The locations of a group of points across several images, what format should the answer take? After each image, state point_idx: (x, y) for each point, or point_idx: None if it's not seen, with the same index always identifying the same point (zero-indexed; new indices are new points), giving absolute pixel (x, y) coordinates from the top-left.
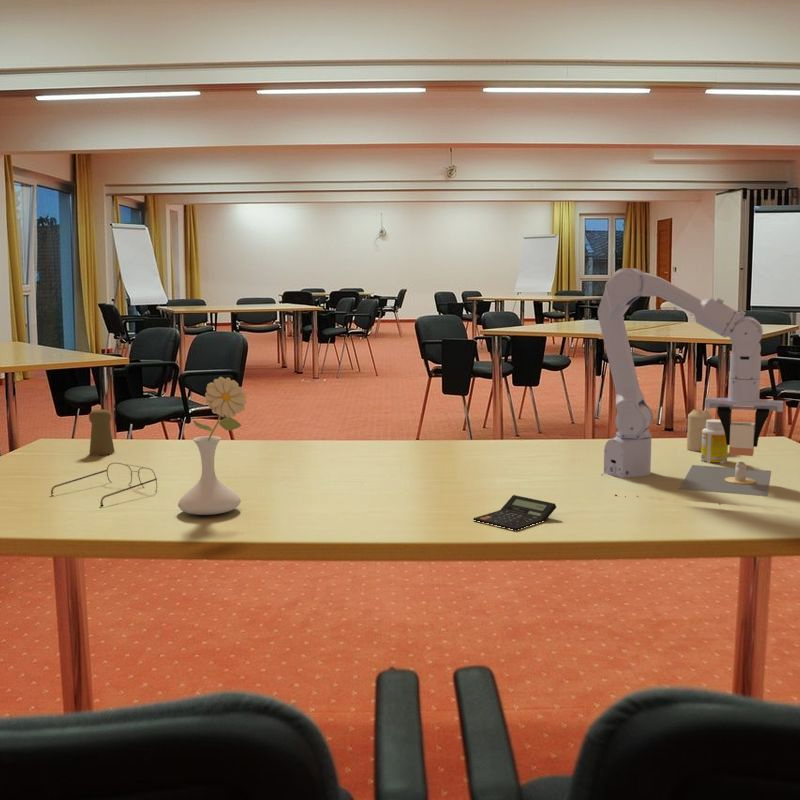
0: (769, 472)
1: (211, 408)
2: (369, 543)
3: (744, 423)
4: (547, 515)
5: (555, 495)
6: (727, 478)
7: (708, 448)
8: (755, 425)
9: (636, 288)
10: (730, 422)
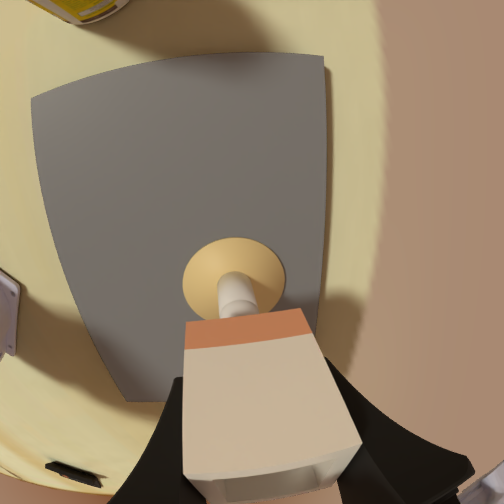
0: (321, 90)
1: None
2: (66, 490)
3: (284, 466)
4: (95, 479)
5: (23, 422)
6: (190, 281)
7: (47, 6)
8: (340, 485)
9: None
10: (190, 490)
